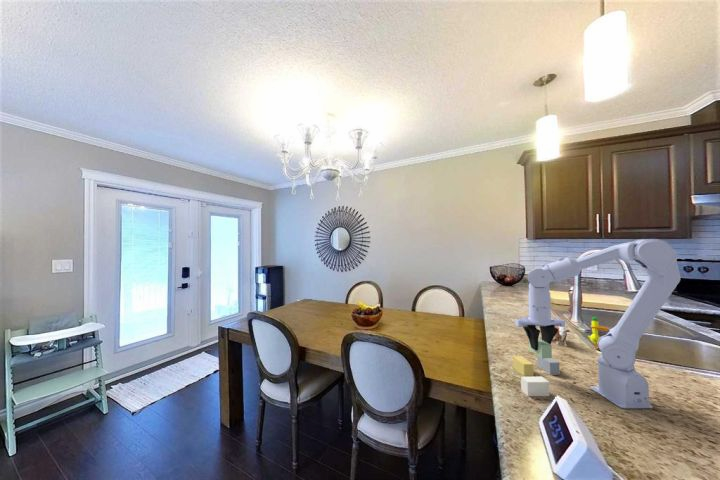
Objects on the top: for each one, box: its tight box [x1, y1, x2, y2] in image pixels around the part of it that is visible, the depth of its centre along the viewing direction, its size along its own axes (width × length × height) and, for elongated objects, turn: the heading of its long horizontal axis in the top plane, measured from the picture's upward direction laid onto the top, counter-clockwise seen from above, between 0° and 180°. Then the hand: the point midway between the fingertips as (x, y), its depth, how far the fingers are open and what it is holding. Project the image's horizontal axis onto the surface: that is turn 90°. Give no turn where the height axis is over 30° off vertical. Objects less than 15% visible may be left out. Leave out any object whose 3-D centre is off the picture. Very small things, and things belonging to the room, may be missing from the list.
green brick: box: [528, 337, 553, 358], centre depth 81 cm, size 6×3×4 cm, turn 0°
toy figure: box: [587, 316, 610, 349], centre depth 103 cm, size 7×4×12 cm, turn 43°
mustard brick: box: [512, 355, 535, 377], centre depth 85 cm, size 6×3×4 cm, turn 179°
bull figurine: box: [552, 326, 570, 348], centre depth 108 cm, size 4×13×8 cm, turn 163°
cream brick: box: [520, 376, 550, 397], centre depth 73 cm, size 6×3×4 cm, turn 89°
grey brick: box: [536, 355, 560, 376], centre depth 86 cm, size 6×3×4 cm, turn 179°
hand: (540, 349), depth 81 cm, fingers closed on green brick, 3 cm apart
